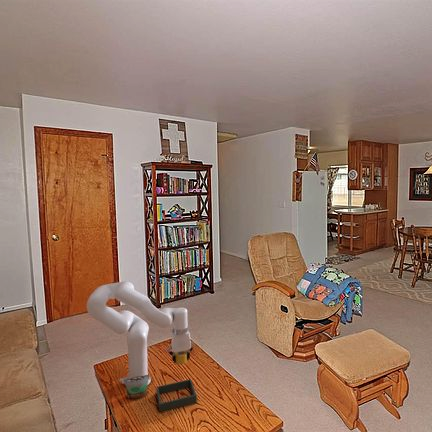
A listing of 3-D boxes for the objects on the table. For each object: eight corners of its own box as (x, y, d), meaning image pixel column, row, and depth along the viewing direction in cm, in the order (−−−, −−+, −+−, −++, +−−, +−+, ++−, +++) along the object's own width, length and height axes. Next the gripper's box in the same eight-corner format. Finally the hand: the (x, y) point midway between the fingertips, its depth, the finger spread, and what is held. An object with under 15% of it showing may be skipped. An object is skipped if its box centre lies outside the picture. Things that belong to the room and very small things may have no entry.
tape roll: (176, 365, 188) (175, 357, 188) (174, 359, 194) (174, 351, 194) (188, 363, 191) (188, 354, 191) (186, 357, 197) (186, 349, 197)
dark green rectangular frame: (159, 412, 165) (159, 404, 164) (156, 393, 179) (156, 386, 178) (196, 402, 172) (196, 395, 172) (191, 385, 186) (190, 379, 186)
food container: (124, 403, 170) (123, 384, 169) (123, 396, 176) (123, 378, 175) (150, 397, 176) (150, 378, 175) (149, 390, 181) (149, 372, 180)
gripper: (165, 335, 184) (165, 367, 186) (197, 330, 191) (198, 360, 193) (163, 330, 191) (164, 360, 192) (195, 325, 198) (195, 354, 200)
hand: (181, 360), depth 193 cm, fingers closed on tape roll, 6 cm apart
